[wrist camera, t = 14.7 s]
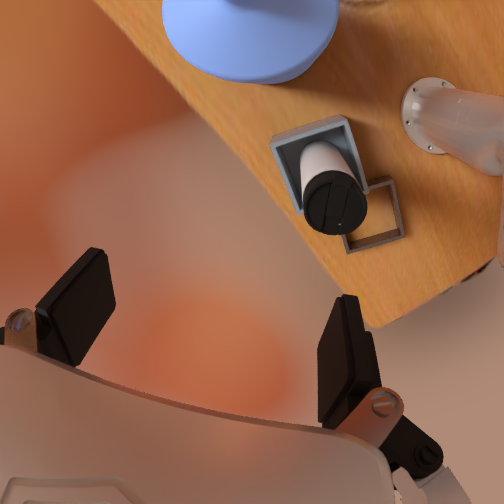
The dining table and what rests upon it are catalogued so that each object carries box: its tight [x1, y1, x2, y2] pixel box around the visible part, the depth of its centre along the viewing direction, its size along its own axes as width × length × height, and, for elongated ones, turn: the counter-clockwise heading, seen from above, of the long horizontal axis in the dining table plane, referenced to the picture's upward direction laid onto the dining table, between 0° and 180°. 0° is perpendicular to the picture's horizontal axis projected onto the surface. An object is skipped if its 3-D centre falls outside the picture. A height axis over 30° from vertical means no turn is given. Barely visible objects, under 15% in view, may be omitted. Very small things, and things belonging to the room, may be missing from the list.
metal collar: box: [341, 175, 405, 254], centre depth 48 cm, size 11×11×2 cm
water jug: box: [162, 0, 339, 84], centre depth 24 cm, size 16×16×28 cm
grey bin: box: [269, 114, 369, 215], centre depth 42 cm, size 11×11×7 cm
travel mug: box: [300, 140, 367, 235], centre depth 36 cm, size 6×7×20 cm
